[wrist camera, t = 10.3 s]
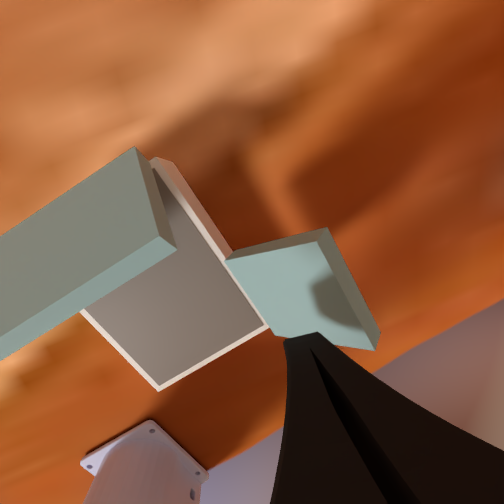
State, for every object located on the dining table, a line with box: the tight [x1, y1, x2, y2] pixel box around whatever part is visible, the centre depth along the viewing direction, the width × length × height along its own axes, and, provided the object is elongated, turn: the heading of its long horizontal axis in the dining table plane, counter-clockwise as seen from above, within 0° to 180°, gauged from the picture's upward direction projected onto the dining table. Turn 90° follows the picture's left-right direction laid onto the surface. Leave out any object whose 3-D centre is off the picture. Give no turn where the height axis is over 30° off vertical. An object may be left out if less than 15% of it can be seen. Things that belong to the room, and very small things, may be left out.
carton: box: [79, 157, 270, 392], centre depth 16 cm, size 12×9×4 cm
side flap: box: [0, 146, 178, 361], centre depth 10 cm, size 6×8×1 cm
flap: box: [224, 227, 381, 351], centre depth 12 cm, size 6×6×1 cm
